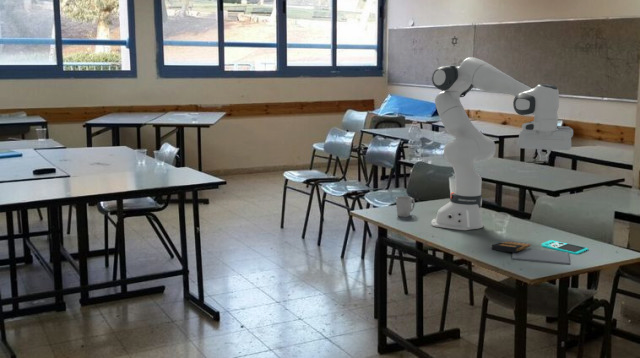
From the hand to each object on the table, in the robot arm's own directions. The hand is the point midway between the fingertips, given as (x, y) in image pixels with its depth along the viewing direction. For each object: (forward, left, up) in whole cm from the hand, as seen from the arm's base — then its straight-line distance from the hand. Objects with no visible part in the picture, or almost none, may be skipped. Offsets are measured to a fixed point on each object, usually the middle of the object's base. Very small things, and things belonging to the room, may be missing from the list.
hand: (543, 160), depth 268 cm
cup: (-59, +26, -33) cm, 73 cm away
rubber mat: (+1, -22, -33) cm, 40 cm away
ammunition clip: (-13, -21, -32) cm, 40 cm away
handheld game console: (+10, -7, -34) cm, 36 cm away
